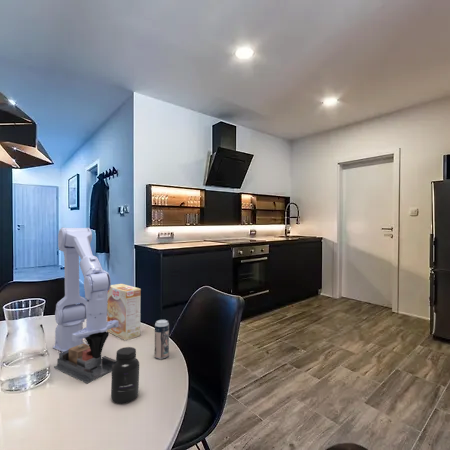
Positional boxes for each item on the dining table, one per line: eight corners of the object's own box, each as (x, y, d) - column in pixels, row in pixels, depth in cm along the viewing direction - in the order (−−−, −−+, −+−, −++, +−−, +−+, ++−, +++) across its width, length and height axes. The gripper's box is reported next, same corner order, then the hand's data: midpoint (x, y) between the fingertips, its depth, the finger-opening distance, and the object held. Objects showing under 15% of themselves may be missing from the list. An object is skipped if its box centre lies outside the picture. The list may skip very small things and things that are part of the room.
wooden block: (68, 364, 89) (68, 346, 89) (83, 358, 93) (83, 341, 93) (77, 368, 87) (78, 350, 87) (92, 362, 91) (92, 344, 91)
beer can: (165, 360, 94) (165, 324, 94) (152, 358, 95) (152, 323, 95) (170, 354, 98) (171, 319, 98) (158, 352, 99) (158, 318, 99)
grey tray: (54, 367, 88) (54, 355, 88) (86, 354, 97) (87, 342, 97) (87, 383, 79) (87, 369, 79) (119, 367, 89) (119, 354, 89)
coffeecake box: (106, 331, 119) (106, 285, 119) (121, 327, 124) (122, 283, 124) (124, 341, 109) (125, 290, 109) (140, 335, 115) (141, 288, 115)
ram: (76, 368, 86) (77, 350, 86) (93, 360, 91) (93, 343, 91) (84, 371, 84) (85, 353, 84) (101, 363, 89) (101, 346, 89)
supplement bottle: (122, 408, 69) (123, 359, 69) (105, 399, 72) (106, 352, 72) (144, 394, 75) (145, 348, 75) (127, 386, 78) (127, 343, 78)
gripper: (82, 321, 78) (81, 370, 78) (125, 308, 90) (124, 351, 90) (67, 317, 81) (67, 364, 81) (110, 305, 94) (110, 346, 94)
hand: (96, 357), depth 86 cm, fingers closed, pressing on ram
